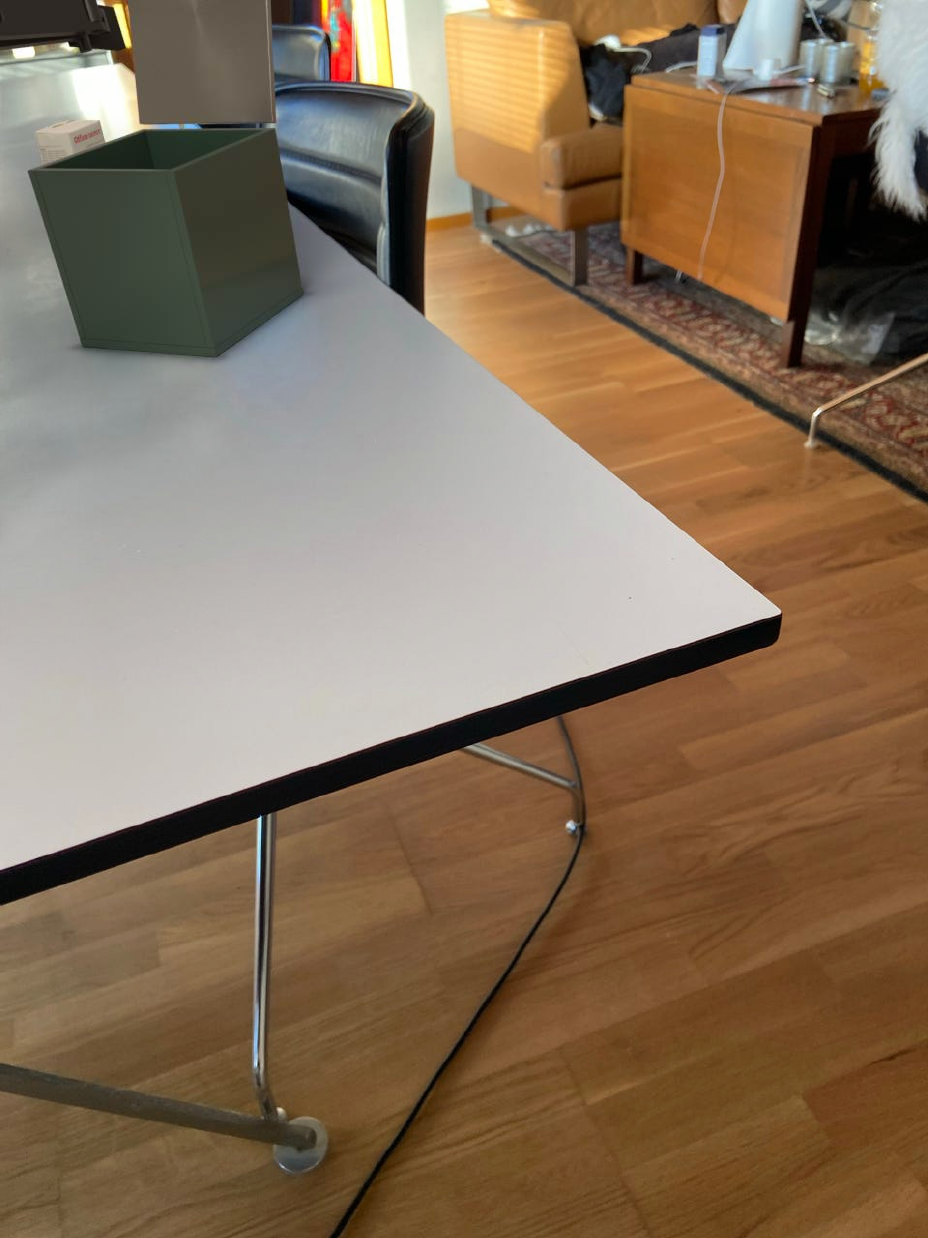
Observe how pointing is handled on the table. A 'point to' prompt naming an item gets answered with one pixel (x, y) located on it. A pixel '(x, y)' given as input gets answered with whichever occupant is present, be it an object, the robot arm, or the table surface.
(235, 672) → the table surface
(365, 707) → the table surface
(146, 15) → the bin lid
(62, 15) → the robot arm
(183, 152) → the trash can
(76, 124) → the ink box
